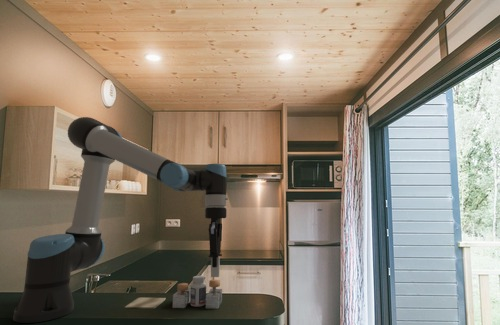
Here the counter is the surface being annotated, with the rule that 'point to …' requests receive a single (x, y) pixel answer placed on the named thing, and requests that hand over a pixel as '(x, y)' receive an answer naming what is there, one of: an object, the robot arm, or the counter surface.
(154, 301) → the coaster
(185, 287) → the plunger
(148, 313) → the counter surface
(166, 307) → the counter surface
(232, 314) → the counter surface
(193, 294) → the pill bottle
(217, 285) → the plunger
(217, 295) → the set of grey blocks
